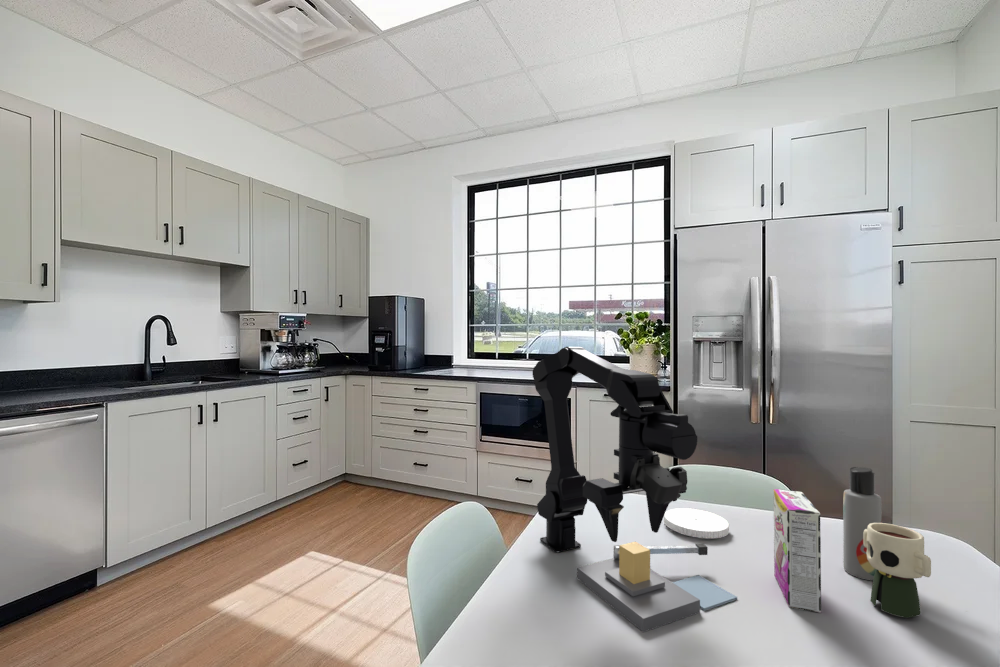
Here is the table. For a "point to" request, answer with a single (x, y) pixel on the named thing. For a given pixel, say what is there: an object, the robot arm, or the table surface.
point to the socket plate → (639, 597)
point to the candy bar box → (797, 550)
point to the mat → (705, 592)
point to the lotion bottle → (859, 521)
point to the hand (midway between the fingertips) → (634, 536)
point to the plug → (634, 570)
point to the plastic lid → (696, 523)
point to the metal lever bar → (670, 550)
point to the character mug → (896, 567)
